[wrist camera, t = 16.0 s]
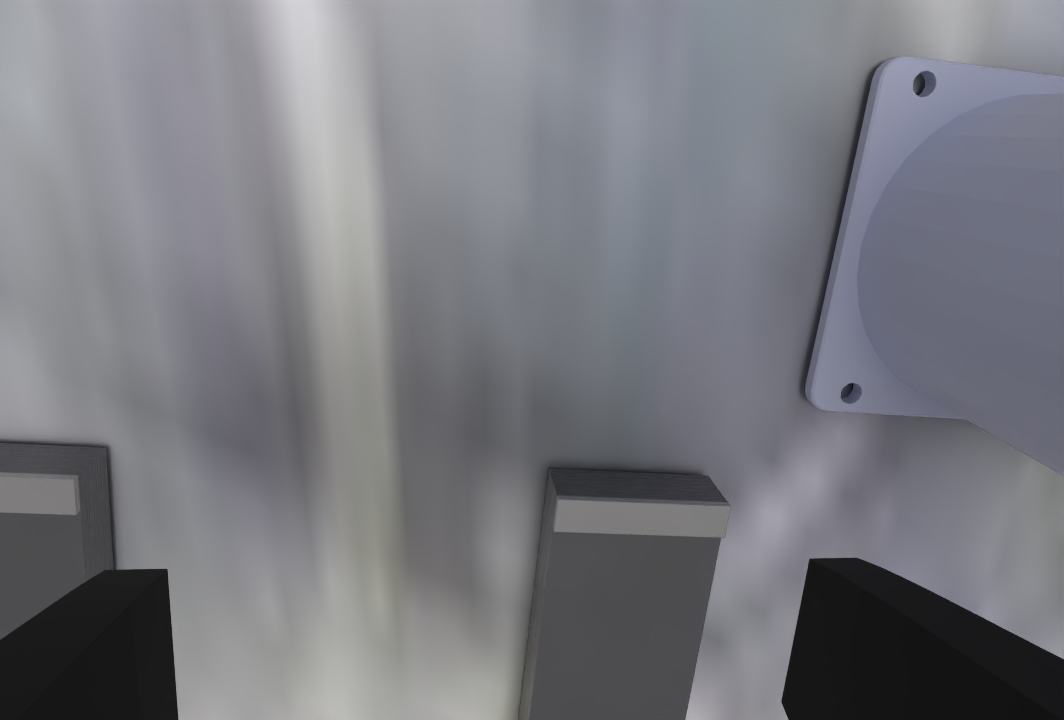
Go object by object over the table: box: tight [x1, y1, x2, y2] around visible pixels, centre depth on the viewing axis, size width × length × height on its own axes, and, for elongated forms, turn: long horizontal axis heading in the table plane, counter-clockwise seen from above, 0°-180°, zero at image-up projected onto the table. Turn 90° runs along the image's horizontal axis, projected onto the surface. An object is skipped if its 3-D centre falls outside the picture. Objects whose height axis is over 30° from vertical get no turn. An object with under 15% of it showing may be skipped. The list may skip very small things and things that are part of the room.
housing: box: [0, 443, 731, 720], centre depth 18 cm, size 18×8×2 cm, turn 85°
